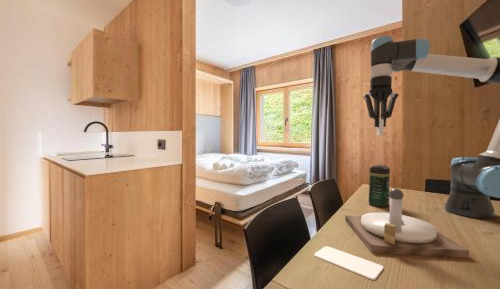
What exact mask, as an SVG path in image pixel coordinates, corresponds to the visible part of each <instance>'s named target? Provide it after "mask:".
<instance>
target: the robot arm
mask: <svg viewBox="0 0 500 289" xmlns="http://www.w3.org/2000/svg"><path fill="white" fill-rule="evenodd" d="M430 48H431V43H430V40H429V39H428V38H414V39H406V40H399V41H394V40H393V37H392V36H391V35H380V36H379V37H376V38H375V39H374V38H373V40H372V41H371V45H370V80H369V81H370V83H369V84H370V89H369V92H367V93H366V94H364V95H363V96H362V98H363V99H364V100H365V104H366V107H367V112H368V117H369V118H370V119H373V120H374V128H376V136H384V128H386V127H387V126H386V125H387V119H389V118H391V117H392V115H393V111H394V107H395V103H396V100H397V99H398V97H399V93H395V92H393V89H392V84H393V83H392V82H393V80H392V79H393V77H392V75H393V74H392V73H393V72H394V73H398V72H402V71H408V72H414V73H415V72H416V73H425V74H432V75H433V74H434V75H443V76H453V77H462V78H469V79H470V78H471V79H478V80H479V82H481V83H489V84H495V85H496V84H498V85H500V57H497V56H491V57H489V58H477V57H466V56H456V55H443V54H432V53H429V52H430ZM389 97H390V99H389ZM388 99H389V102H388ZM372 100H373V101H372ZM387 102H388V103H387ZM373 104H374V105H373ZM449 192H450V193H449V194H448V196H447V199H446V202H445V204H444V210H446V211H447V212H448V213H449V212H450V213H452V214H455V215H459V216H462V217H463V216H464V217H467V218H468V217H469V218H475V219H487V220H489V219H495V218H496V210H495V209H494V206H493V203H492V201H491V199H490V197H492V198H497V199H500V119H499V120H498V123H497V125H496V127H495V130H494V132H493V135H492V137H491V140H490V141H489V145H488V147H487V149H486V151H484V152H481V153H479V154H478V156H477V157H469V156H468V157H454V158H452V160H451V163H450V191H449Z"/></svg>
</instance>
